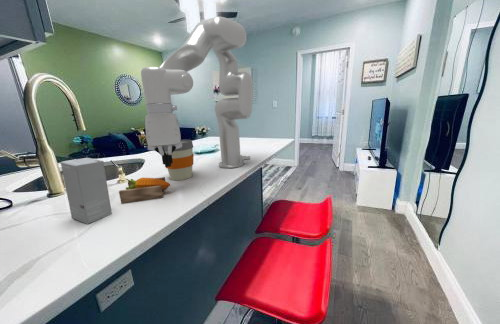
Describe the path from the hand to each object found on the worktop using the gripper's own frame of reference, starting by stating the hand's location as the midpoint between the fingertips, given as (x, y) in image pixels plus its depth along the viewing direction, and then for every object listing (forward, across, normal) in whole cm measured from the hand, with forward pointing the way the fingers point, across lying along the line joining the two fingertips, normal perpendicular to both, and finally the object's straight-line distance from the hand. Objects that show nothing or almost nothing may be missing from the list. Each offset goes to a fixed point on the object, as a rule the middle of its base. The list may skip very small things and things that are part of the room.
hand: (168, 165), depth 70 cm
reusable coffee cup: (+9, -2, -16) cm, 19 cm away
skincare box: (+10, +20, +11) cm, 24 cm away
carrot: (+6, 0, +2) cm, 6 cm away
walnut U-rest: (+9, +8, 0) cm, 13 cm away
